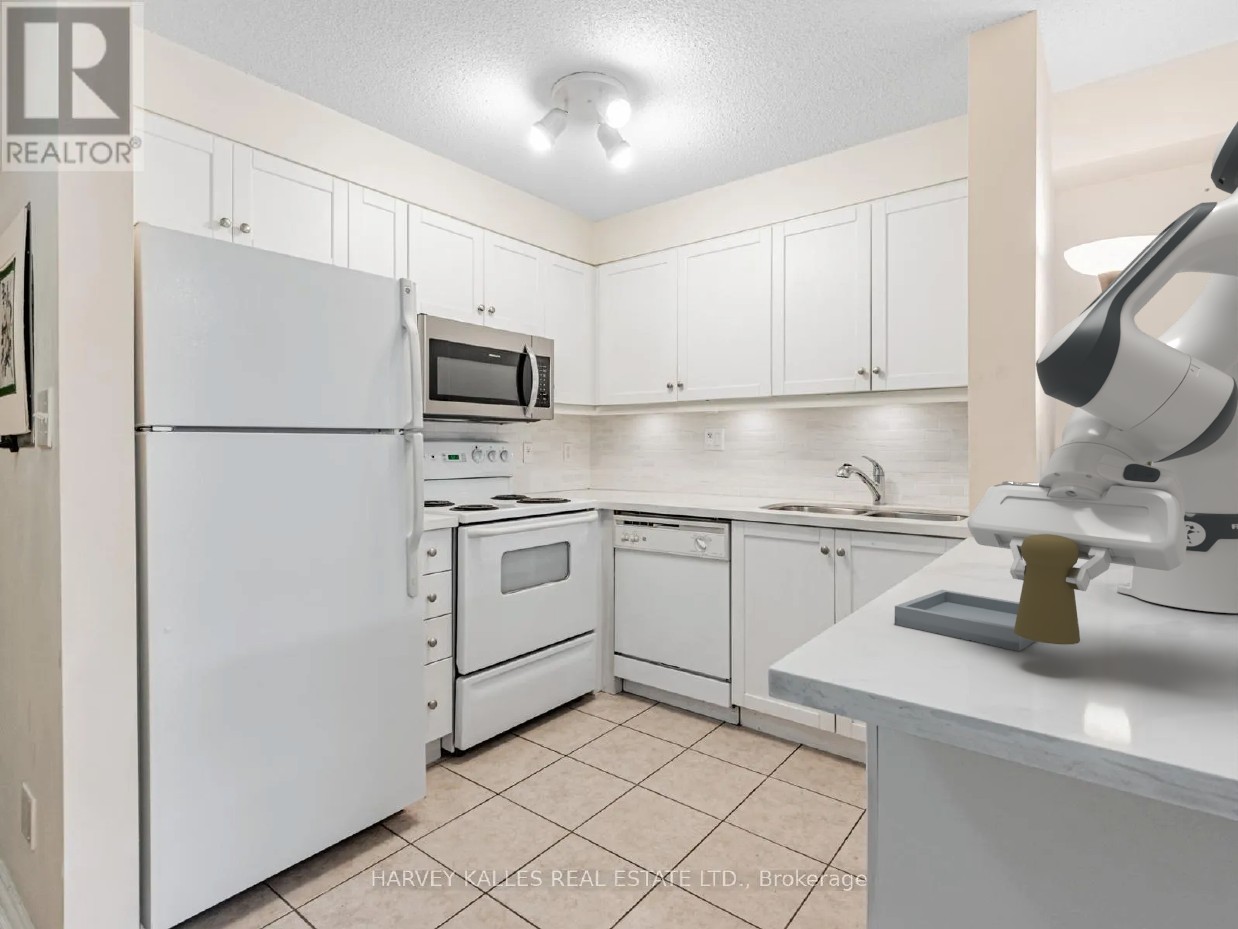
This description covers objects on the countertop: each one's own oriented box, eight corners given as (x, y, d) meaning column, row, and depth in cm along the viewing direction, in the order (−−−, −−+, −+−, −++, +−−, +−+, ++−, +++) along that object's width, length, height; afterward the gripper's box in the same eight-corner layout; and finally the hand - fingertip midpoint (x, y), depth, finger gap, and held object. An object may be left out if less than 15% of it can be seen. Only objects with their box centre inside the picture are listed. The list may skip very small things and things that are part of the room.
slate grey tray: (941, 606, 98) (942, 589, 97) (1058, 627, 86) (1058, 609, 86) (894, 624, 88) (894, 606, 88) (1019, 651, 76) (1019, 630, 76)
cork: (1094, 645, 67) (1098, 540, 67) (1035, 644, 68) (1038, 539, 67) (1056, 627, 74) (1060, 531, 73) (1002, 627, 74) (1005, 530, 73)
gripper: (984, 464, 82) (940, 548, 77) (1193, 472, 65) (1156, 581, 60) (999, 497, 85) (959, 581, 80) (1205, 513, 68) (1170, 620, 63)
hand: (1045, 581), depth 70 cm, fingers closed on cork, 4 cm apart
